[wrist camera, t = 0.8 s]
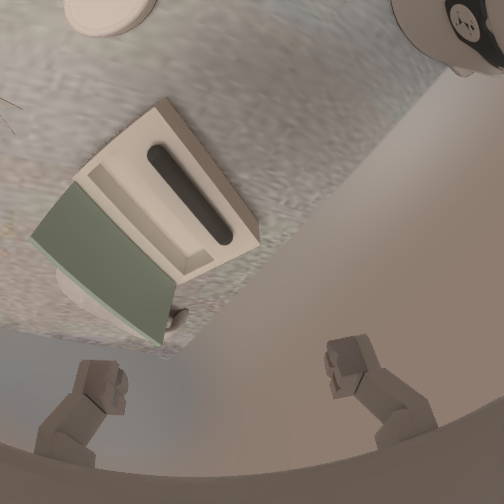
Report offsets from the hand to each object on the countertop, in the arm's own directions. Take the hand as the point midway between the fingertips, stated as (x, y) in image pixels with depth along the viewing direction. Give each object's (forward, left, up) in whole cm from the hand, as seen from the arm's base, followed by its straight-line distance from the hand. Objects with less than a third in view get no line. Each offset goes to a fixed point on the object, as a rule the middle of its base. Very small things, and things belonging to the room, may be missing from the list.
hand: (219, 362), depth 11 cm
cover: (+17, +3, -18) cm, 25 cm away
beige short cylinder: (+1, -21, -28) cm, 35 cm away
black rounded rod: (+6, +3, -23) cm, 24 cm away
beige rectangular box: (+11, +3, -28) cm, 30 cm away
